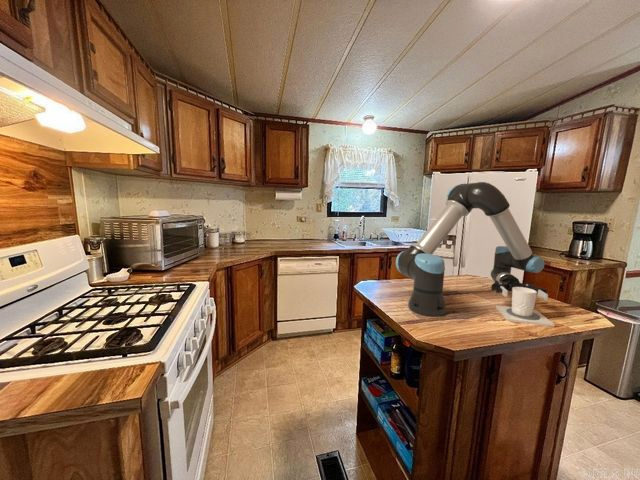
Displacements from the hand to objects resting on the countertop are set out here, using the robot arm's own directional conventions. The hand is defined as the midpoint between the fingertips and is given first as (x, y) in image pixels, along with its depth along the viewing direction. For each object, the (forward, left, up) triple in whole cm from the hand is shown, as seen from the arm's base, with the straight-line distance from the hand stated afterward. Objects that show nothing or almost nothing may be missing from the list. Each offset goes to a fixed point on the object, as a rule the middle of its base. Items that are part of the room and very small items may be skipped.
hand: (525, 295), depth 107 cm
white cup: (-1, 0, -8) cm, 8 cm away
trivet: (0, 0, -9) cm, 9 cm away
